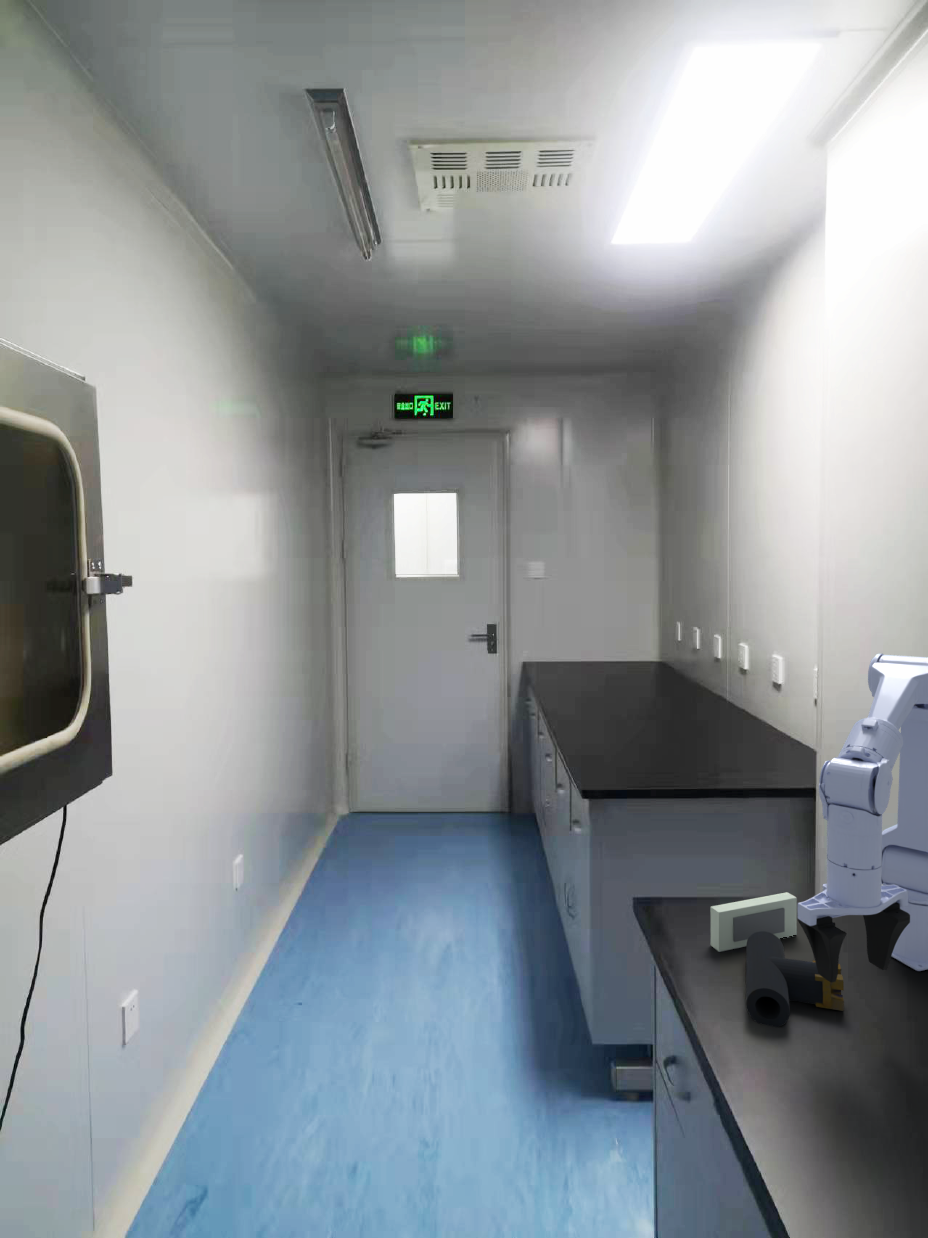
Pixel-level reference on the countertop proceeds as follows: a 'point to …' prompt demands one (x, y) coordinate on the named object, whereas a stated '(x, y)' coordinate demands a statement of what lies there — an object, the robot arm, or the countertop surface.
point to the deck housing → (752, 920)
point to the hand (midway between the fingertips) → (852, 971)
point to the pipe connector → (784, 982)
